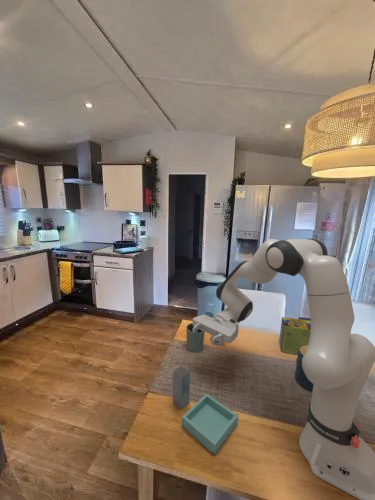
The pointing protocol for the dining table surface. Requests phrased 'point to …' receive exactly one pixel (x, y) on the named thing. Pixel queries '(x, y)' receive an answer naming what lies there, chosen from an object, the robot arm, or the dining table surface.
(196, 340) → the dark green embossed cup
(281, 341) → the protein box
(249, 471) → the dining table surface
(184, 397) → the brushed steel pillar
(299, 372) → the canister
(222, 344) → the light bulb box
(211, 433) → the tray
